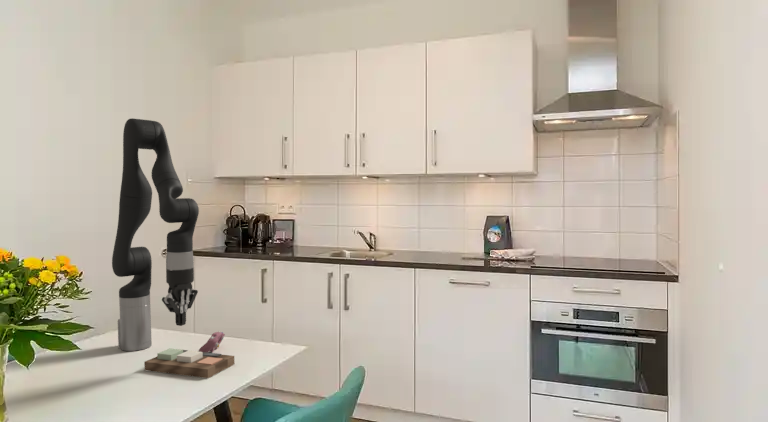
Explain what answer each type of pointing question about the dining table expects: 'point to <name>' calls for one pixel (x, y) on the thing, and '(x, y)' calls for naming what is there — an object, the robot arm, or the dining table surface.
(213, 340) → the video game controller
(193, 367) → the brown wooden flat block
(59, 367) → the dining table surface
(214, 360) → the key terracotta
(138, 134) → the robot arm
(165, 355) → the key sage
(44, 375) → the dining table surface
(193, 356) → the key ivory
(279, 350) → the dining table surface
